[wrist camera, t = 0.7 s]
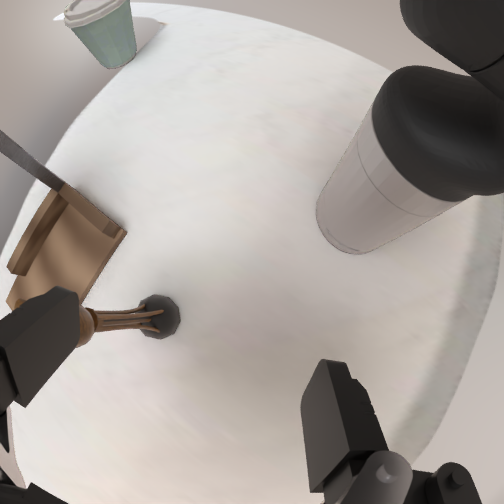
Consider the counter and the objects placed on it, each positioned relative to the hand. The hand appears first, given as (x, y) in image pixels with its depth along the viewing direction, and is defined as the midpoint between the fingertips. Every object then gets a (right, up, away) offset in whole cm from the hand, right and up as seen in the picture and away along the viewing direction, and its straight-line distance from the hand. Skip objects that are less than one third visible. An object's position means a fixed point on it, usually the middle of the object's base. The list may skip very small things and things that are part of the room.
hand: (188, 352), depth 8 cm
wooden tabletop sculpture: (-9, -4, +22) cm, 24 cm away
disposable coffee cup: (-21, +36, +30) cm, 51 cm away
